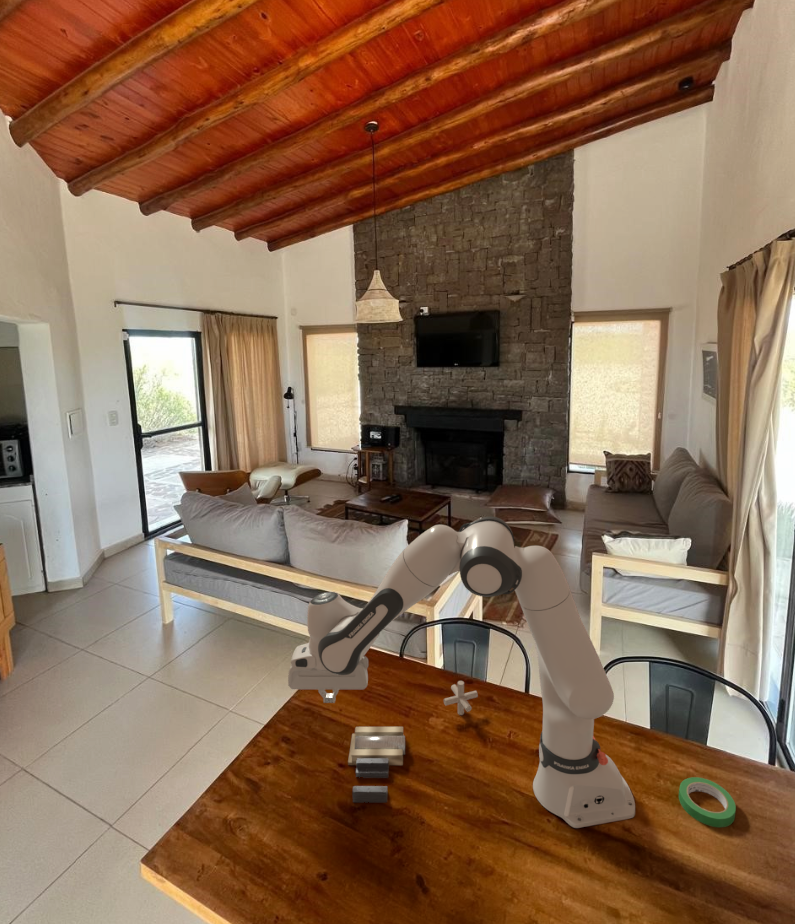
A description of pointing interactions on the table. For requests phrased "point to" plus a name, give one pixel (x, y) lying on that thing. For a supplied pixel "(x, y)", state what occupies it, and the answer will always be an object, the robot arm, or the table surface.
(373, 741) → the axle
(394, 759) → the beige u-shaped bracket
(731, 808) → the tape roll
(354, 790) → the dark blocks
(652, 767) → the table surface
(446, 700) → the pipe connector
